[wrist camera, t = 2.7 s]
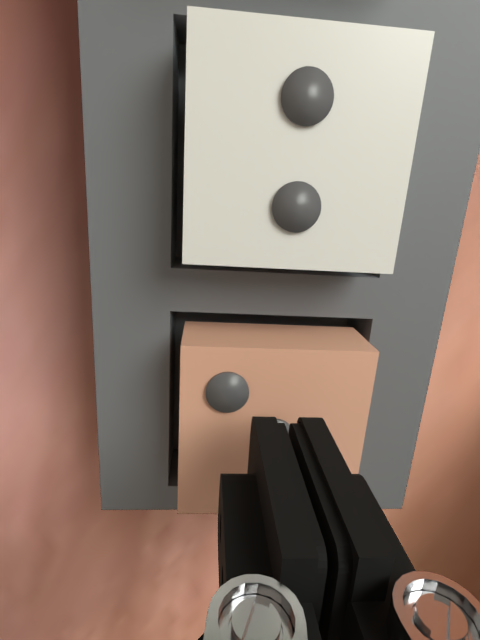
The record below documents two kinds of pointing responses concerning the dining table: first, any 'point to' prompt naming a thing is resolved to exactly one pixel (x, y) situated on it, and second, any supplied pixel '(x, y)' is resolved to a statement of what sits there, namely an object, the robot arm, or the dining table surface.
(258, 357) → the button three
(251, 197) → the button two
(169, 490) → the button board
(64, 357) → the dining table surface
